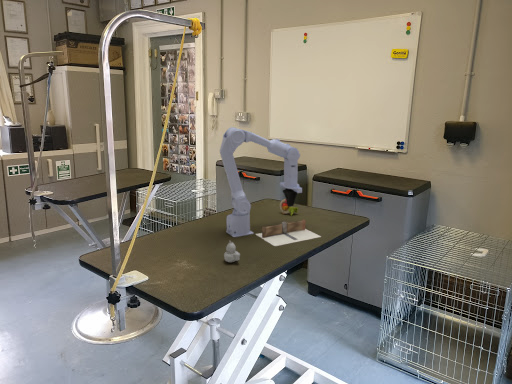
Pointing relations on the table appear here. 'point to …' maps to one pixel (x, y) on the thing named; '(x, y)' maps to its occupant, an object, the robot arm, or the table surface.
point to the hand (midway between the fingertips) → (290, 206)
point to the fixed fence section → (274, 230)
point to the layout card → (289, 237)
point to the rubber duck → (231, 253)
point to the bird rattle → (287, 208)
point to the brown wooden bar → (296, 226)
